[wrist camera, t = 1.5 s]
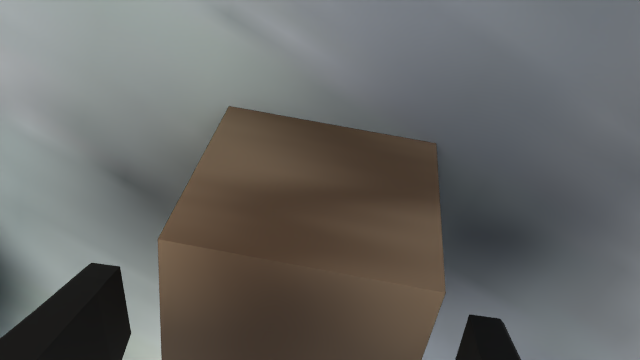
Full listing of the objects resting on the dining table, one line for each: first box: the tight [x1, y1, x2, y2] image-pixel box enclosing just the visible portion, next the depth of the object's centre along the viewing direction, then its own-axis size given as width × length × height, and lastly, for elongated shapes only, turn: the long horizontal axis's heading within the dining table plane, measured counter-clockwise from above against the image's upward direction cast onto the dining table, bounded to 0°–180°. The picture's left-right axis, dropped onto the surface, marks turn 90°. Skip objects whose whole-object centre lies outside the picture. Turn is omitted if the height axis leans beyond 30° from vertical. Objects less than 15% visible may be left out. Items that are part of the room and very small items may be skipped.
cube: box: [158, 106, 446, 360], centre depth 14 cm, size 5×5×5 cm
